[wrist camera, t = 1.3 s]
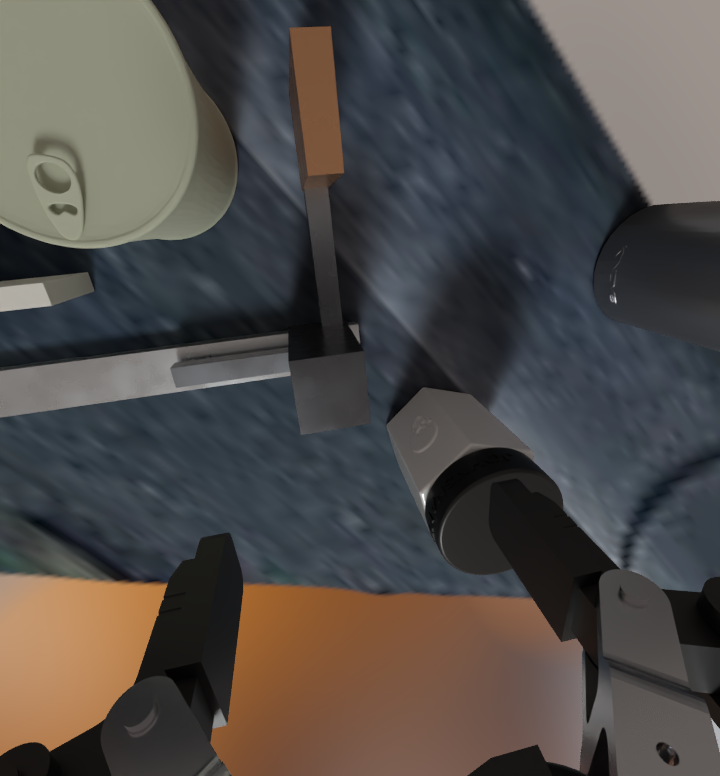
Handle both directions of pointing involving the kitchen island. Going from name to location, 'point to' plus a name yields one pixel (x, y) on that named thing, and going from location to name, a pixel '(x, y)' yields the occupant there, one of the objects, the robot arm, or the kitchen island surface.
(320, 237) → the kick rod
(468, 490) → the jar
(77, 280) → the frame
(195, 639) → the robot arm
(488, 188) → the kitchen island surface
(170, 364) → the rail
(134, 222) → the can
